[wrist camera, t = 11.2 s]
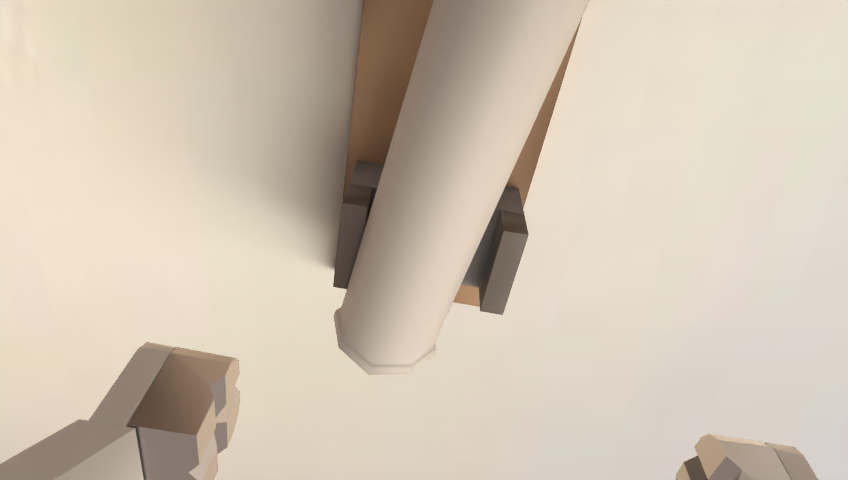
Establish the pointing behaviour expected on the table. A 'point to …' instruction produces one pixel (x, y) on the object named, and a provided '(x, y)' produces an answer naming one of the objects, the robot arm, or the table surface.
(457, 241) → the tube
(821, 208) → the table surface
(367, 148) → the bracket stand
